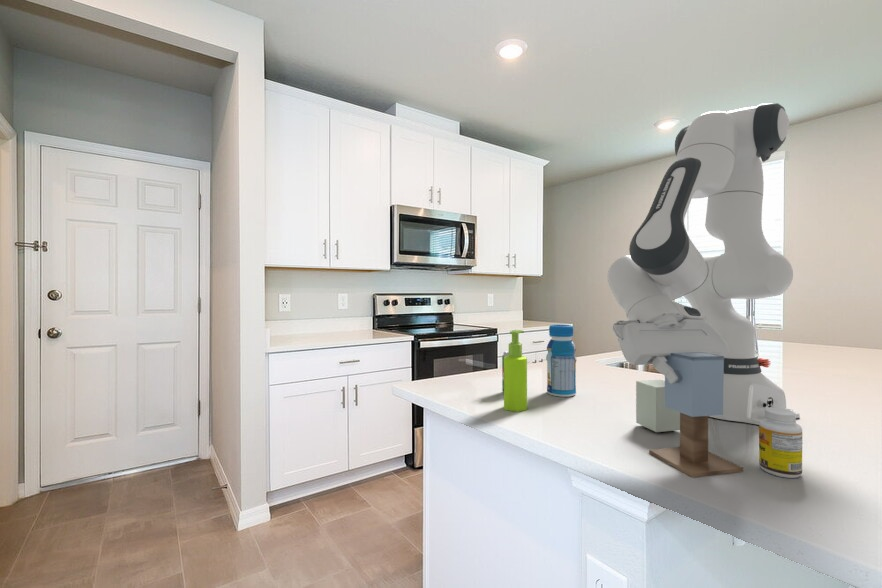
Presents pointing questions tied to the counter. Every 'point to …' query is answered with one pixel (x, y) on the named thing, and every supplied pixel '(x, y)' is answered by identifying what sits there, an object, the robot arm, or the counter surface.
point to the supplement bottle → (780, 443)
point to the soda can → (503, 369)
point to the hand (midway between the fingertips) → (695, 380)
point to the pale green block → (654, 407)
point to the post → (695, 451)
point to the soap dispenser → (515, 376)
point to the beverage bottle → (561, 362)
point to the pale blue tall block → (696, 384)
